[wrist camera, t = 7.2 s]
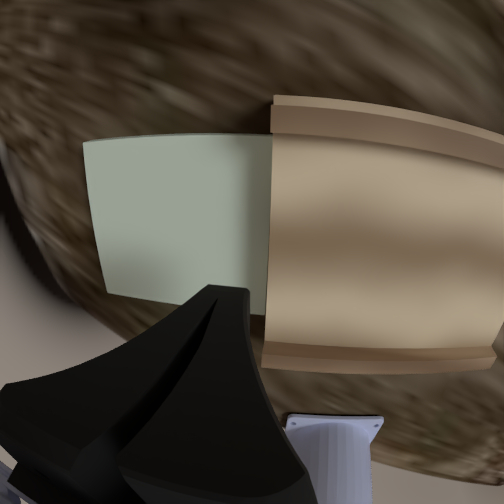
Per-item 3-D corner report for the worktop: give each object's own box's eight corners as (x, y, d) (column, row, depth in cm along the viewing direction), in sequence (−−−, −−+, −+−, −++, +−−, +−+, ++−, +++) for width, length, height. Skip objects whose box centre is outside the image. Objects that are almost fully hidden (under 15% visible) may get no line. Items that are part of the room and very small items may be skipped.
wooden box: (469, 337, 17) (486, 373, 14) (268, 330, 18) (261, 372, 15) (526, 146, 11) (565, 159, 8) (278, 97, 13) (271, 93, 10)
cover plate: (267, 299, 18) (264, 315, 17) (118, 280, 19) (107, 292, 18) (276, 134, 14) (273, 137, 13) (98, 138, 15) (82, 142, 14)
